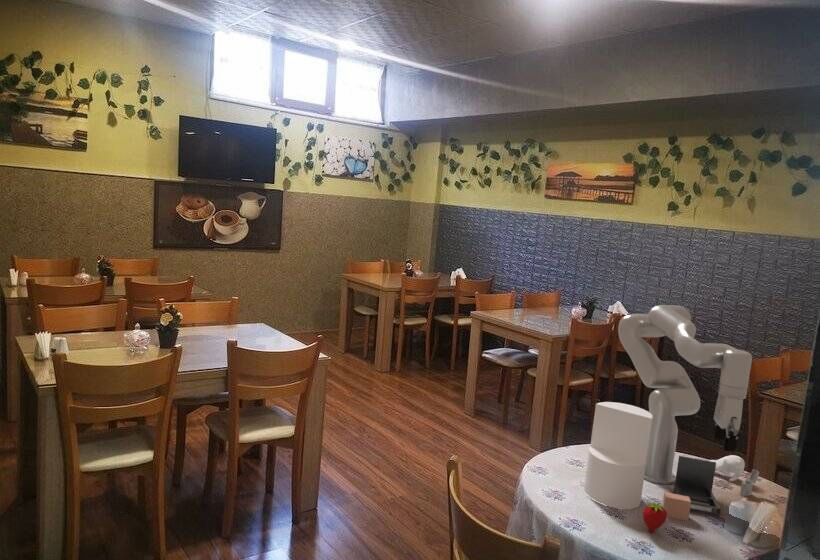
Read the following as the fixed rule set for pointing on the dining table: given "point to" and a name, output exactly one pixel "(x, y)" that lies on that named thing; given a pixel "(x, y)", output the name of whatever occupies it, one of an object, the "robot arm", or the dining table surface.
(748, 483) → the lighter
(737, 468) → the white rounded lump
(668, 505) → the cardboard box
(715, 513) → the rack
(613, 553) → the dining table surface
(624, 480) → the cylinder
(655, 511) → the strawberry
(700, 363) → the robot arm
